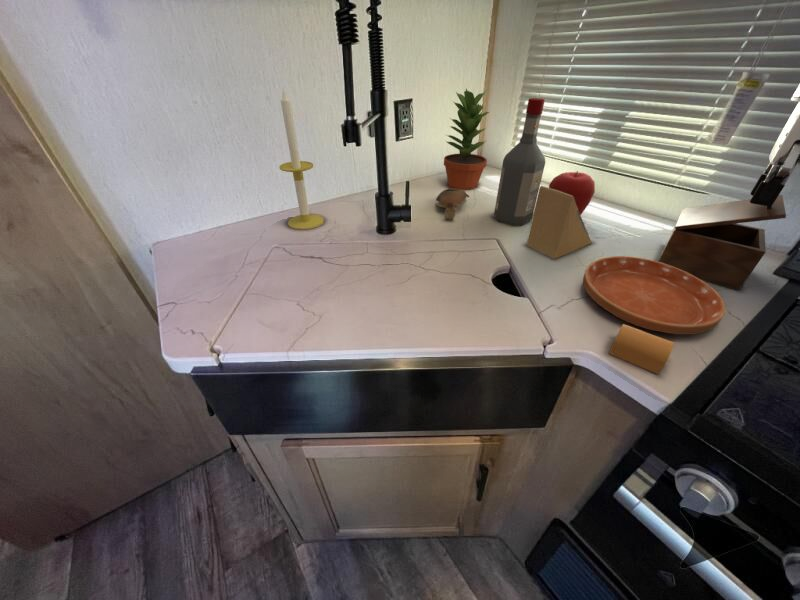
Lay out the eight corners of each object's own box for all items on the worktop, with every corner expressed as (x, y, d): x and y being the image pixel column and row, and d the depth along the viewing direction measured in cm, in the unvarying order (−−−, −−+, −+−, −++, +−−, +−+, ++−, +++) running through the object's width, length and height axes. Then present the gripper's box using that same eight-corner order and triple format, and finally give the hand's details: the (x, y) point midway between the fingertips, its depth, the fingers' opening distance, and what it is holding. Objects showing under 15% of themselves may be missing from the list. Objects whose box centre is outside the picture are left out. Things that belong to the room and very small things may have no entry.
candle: (284, 229, 94) (254, 90, 75) (292, 215, 102) (267, 85, 83) (321, 229, 94) (300, 89, 75) (326, 214, 102) (309, 85, 83)
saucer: (749, 334, 60) (762, 317, 58) (629, 348, 58) (638, 331, 55) (652, 266, 79) (660, 252, 76) (558, 275, 76) (563, 260, 74)
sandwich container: (593, 242, 88) (615, 183, 79) (554, 259, 81) (573, 196, 72) (564, 230, 94) (581, 173, 85) (525, 245, 87) (540, 185, 78)
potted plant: (484, 179, 129) (498, 84, 111) (481, 193, 117) (495, 89, 99) (445, 176, 132) (451, 83, 114) (437, 189, 120) (444, 88, 102)
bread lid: (782, 198, 70) (783, 172, 68) (785, 218, 62) (786, 189, 60) (683, 211, 81) (681, 189, 80) (675, 230, 73) (673, 206, 72)
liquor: (534, 218, 100) (564, 99, 82) (518, 228, 95) (546, 102, 77) (506, 210, 105) (528, 95, 87) (489, 218, 100) (509, 99, 82)
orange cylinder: (662, 358, 56) (676, 337, 53) (658, 374, 53) (671, 353, 50) (615, 339, 59) (625, 319, 57) (608, 353, 57) (618, 332, 54)
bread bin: (740, 265, 79) (764, 229, 74) (738, 290, 71) (766, 251, 66) (664, 246, 87) (681, 212, 81) (655, 266, 79) (674, 230, 73)
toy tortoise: (433, 222, 100) (468, 218, 97) (430, 205, 97) (466, 200, 95) (440, 199, 116) (471, 195, 113) (438, 183, 113) (469, 179, 110)
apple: (562, 207, 107) (575, 162, 99) (594, 221, 99) (611, 173, 91) (532, 214, 103) (543, 167, 95) (563, 229, 94) (578, 179, 86)
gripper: (871, 98, 50) (788, 218, 60) (851, 89, 60) (783, 193, 71) (799, 94, 54) (733, 208, 64) (792, 87, 64) (737, 185, 75)
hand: (760, 199), depth 68 cm, fingers closed on bread lid, 5 cm apart
